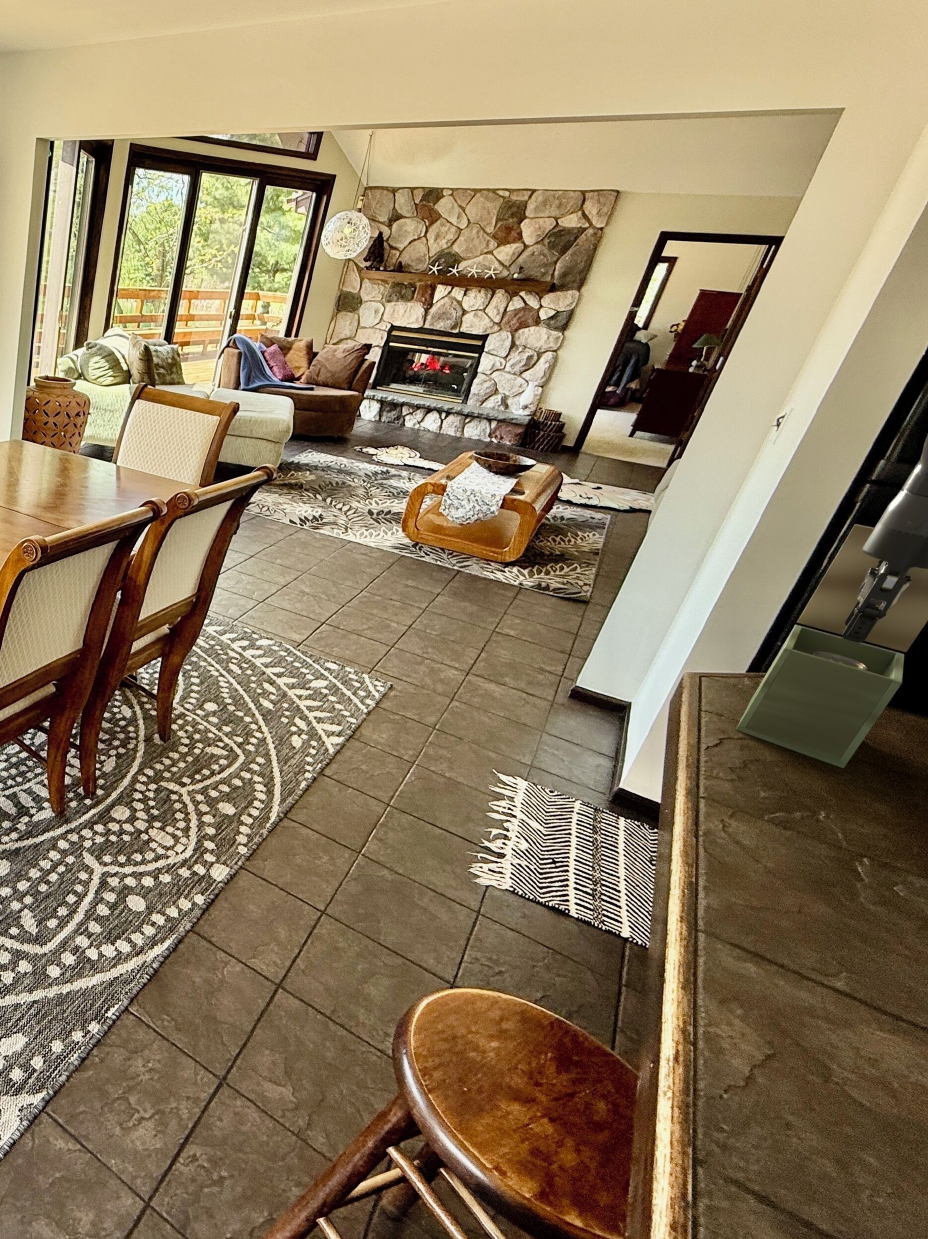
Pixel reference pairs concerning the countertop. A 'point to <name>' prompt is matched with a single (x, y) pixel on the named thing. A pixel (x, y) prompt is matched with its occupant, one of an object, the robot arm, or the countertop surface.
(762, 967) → the countertop surface
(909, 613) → the lid
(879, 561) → the robot arm
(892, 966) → the countertop surface
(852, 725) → the chest
